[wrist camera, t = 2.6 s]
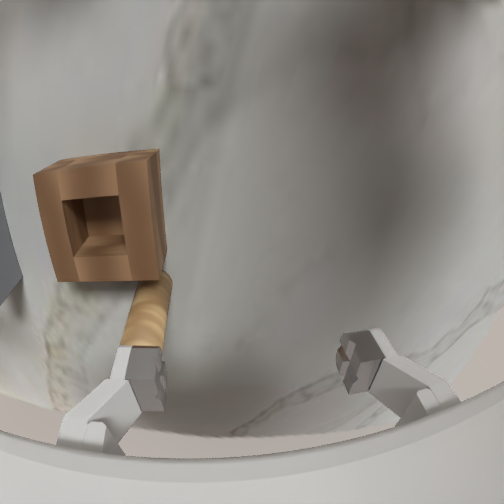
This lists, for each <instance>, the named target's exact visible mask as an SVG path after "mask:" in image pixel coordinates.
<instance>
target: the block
mask: <svg viewBox="0 0 504 504" xmlns="http://www.w3.org/2000/svg"><path fill="white" fill-rule="evenodd" d="M33 178H34V185H35V190H36V196H37V201H38V207H39V211H40V216H41V221H42V225H43V230H44V234H45V238H46V242H47V246H48V250H49V253H50V257H51V261H52V264H53V268H54V271H55V274H56V277H57V281H58V282H92V281H143V280H160V277H161V273H162V269H163V264H164V260H165V256H166V252H167V244H166V234H165V224H164V213H163V201H162V188H161V173H160V155H159V149H151V150H139V151H128V152H118V153H109V154H100V155H92V156H85V157H77V158H70V159H64V160H60V161H58V162H56V163H54V164H52V165H50V166H48V167H46V168H45V169H43V170H41V171H39V172H37V173H35V174H34V175H33Z"/></svg>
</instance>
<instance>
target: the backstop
mask: <svg viewBox="0 0 504 504" xmlns="http://www.w3.org/2000/svg"><path fill="white" fill-rule="evenodd" d="M22 277H23V276H22V273H21V270H20V267H19V264H18V261H17V257H16V254H15V251H14V247H13V244H12V240H11V237H10V233H9V229H8V225H7V221H6V217H5V213H4V208H3V204H2V199H1V194H0V306H1V304H2V303H3V302H4V300H5V299H6V298H7V296H8V295H9V294H10V292H11V291H12V290H13V288H14V287H15V286H16V284H17V283H18V282H19V281H20V279H21V278H22Z"/></svg>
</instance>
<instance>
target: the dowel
mask: <svg viewBox="0 0 504 504" xmlns="http://www.w3.org/2000/svg"><path fill="white" fill-rule="evenodd" d="M171 290H172V280H171V278H170V276H169V275H168V274H167V273H166V272H165V271H163V270H162V273H161V277H160V280H143V281H139V283H138V286H137V289H136V292H135V295H134V299H133V302H132V305H131V308H130V312H129V315H128V318H127V322H126V325H125V329H124V332H123V336H122V340H121V343H120V345H129V346H133V345H136V346H160V347H161V349H162V353H163V345H164V337H165V330H166V323H167V316H168V309H169V303H170V296H171Z"/></svg>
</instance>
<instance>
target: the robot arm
mask: <svg viewBox="0 0 504 504" xmlns="http://www.w3.org/2000/svg"><path fill="white" fill-rule="evenodd" d="M340 343H341V345H342V346H341V347H340V348H339V349H338V350H337V353H336V365H337V369H338V371H339V373H340V374H342V375H343V376H345V377H344V380H343V383H344V385H345V387H346V390H347V392H348V394H355V393H360V392H366V391H369V393H370V394H372V395H373V396H374V397H375V398H377V399H378V400H379V401H380V402H382V403H383V404H384V405H385V406H387V407H388V408H389V409H390V410H392V411H393V412H394V413H395V414H397V415H398V416H399V417H400V420H399V421H398V423H397V424H396V425H395V427H393V428H390V429H387V430H384V431H380V432H377V433H373V434H369V435H366V436H362V437H358V438H354V439H350V440H346V441H342V442H337V443H332V444H327V445H322V446H318V447H312V448H307V449H300V450H294V451H288V452H281V453H272V454H264V455H254V456H243V457H230V458H209V459H208V458H205V459H169V458H147V457H134V456H126V455H125V454H124V452H123V451H122V449H121V448H120V446H119V445H118V443H119V441H120V440H121V439H122V437H123V436H124V435H125V434H126V432H127V431H128V430H129V428H130V427H131V426H132V425H133V423H134V422H135V421H136V419H137V418H138V417H139V416H140V414H141V413H142V412H141V411H165V399H166V396H165V393H164V389H165V388H166V386H167V372H166V366H165V362H164V361H163V360H162V355H163V353H162V349H161V347H160V346H136V345H133V346H129V345H120V346H119V347H118V348H117V352H116V356H115V359H114V363H113V367H112V371H111V375H110V379H105V380H104V381H103V382H102V383H101V384H99V385H98V386H97V387H96V388H95V389H94V390H93V391H92V392H90V393H89V394H88V395H87V396H86V397H85V398H84V399H83V400H82V401H80V402H79V403H78V404H77V405H76V406H75V407H74V408H73V409H71V410H70V411H69V412H68V413H67V414H66V415H65V416H64V418H63V421H62V425H61V429H60V433H59V437H58V440H57V444H56V445H53V444H48V443H44V442H40V441H36V440H32V439H28V438H25V437H21V436H18V435H14V434H11V433H8V432H4V431H1V430H0V504H504V381H503V382H501V383H500V384H498V385H496V386H494V387H492V388H490V389H488V390H486V391H484V392H482V393H480V394H478V395H476V396H474V397H471V398H469V399H467V400H465V401H463V402H460V400H459V398H458V397H457V395H456V394H455V392H454V391H453V389H452V388H451V386H450V385H449V383H448V381H447V380H445V379H443V378H441V377H440V376H438V375H436V374H434V373H432V372H431V371H429V370H427V369H425V368H423V367H421V366H420V365H418V364H416V363H414V362H412V361H411V360H409V359H407V358H405V357H404V356H402V355H400V356H398V355H397V353H396V352H395V350H394V349H393V347H392V345H391V344H390V342H389V341H388V339H387V338H386V336H385V335H384V333H383V331H382V330H381V329H380V328H375V329H369V330H363V331H356V332H349V333H343V334H342V336H341V339H340Z"/></svg>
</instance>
